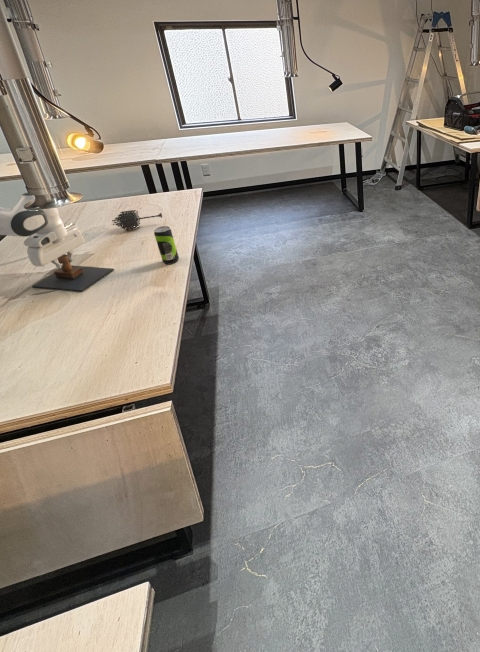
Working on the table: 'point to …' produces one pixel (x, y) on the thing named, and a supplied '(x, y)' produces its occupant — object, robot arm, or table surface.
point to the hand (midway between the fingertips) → (65, 264)
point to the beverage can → (166, 244)
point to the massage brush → (130, 219)
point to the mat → (78, 284)
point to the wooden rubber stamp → (67, 269)
